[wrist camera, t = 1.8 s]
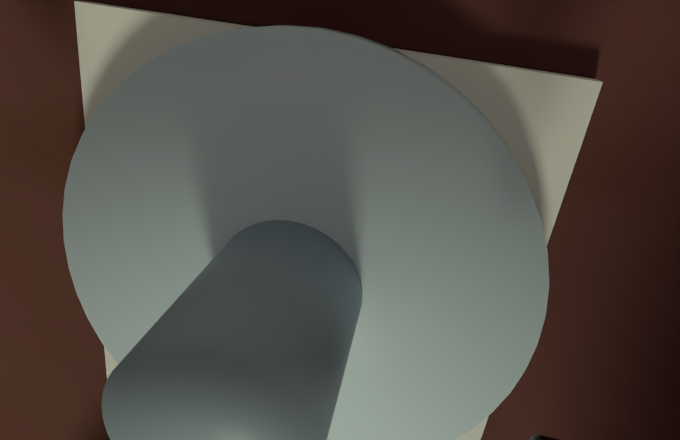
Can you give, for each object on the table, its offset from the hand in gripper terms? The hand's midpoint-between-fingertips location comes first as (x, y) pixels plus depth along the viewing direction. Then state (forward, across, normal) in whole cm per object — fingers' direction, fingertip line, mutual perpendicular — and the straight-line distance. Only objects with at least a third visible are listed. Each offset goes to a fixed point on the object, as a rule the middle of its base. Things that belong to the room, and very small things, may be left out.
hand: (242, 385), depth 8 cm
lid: (+4, 0, 0) cm, 4 cm away
